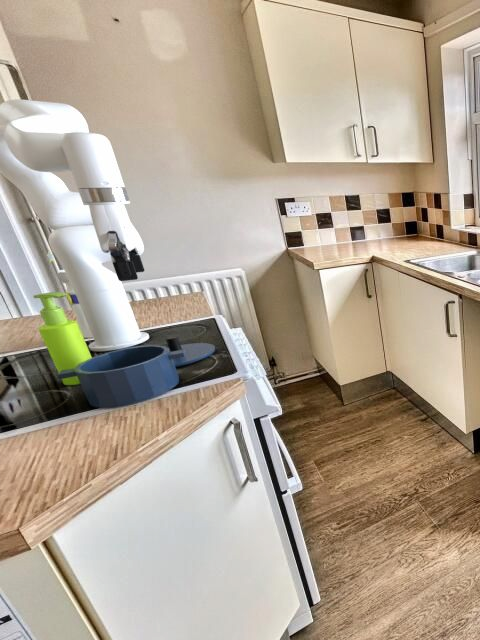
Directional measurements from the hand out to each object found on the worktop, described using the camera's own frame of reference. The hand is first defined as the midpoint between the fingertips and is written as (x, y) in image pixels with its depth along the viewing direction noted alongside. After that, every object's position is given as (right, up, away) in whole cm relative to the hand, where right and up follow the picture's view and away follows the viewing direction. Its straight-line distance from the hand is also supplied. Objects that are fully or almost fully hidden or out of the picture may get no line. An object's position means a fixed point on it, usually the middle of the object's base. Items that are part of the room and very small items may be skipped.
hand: (132, 276), depth 96 cm
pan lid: (+3, -19, +9) cm, 21 cm away
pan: (+7, -25, -7) cm, 27 cm away
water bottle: (-36, -13, +30) cm, 49 cm away
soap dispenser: (-10, -24, -1) cm, 26 cm away
